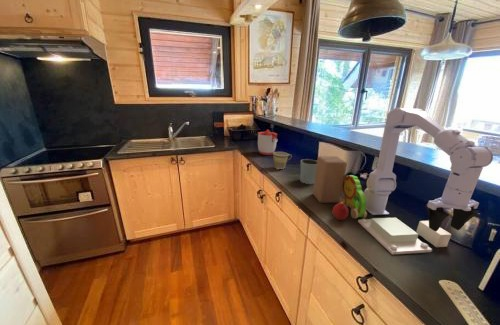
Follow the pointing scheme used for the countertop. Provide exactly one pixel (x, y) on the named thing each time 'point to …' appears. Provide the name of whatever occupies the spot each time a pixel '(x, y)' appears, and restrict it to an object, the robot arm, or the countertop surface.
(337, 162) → the block
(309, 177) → the grey cylindrical container
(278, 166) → the ceramic cup
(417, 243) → the white studded slab
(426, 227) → the cream brick
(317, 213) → the countertop surface
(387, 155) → the robot arm
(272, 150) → the citrus juicer
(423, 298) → the countertop surface
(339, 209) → the onion
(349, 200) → the toy lion
